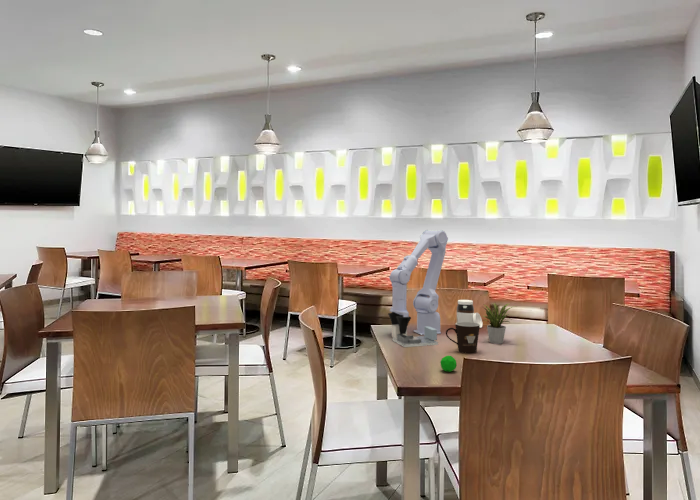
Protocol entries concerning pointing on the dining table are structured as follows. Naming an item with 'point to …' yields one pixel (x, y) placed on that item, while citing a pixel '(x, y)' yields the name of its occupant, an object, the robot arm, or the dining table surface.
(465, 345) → the coffee mug
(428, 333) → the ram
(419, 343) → the press frame
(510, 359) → the dining table surface
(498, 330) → the house plant
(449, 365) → the polyhedron
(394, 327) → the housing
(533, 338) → the dining table surface
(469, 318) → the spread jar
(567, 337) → the dining table surface
